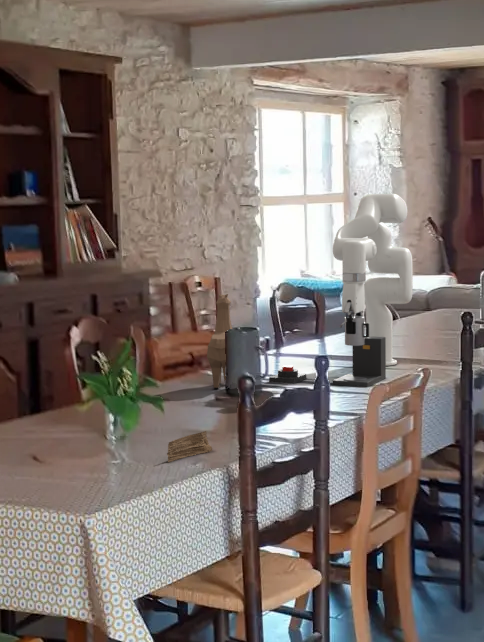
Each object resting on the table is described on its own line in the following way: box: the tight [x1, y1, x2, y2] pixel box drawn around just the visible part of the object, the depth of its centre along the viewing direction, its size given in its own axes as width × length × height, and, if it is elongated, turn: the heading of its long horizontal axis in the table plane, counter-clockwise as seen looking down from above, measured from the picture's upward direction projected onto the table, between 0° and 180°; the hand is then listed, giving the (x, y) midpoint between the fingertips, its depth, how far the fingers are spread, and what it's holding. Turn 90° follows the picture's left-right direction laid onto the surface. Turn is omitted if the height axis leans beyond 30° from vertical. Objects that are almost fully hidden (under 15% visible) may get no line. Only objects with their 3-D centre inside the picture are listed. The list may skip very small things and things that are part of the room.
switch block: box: [268, 368, 307, 385], centre depth 394 cm, size 11×9×4 cm
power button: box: [281, 365, 294, 371], centre depth 393 cm, size 4×4×2 cm
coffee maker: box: [332, 336, 387, 388], centre depth 389 cm, size 19×12×14 cm, turn 153°
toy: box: [206, 293, 233, 391], centre depth 382 cm, size 9×20×30 cm, turn 174°
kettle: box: [339, 315, 369, 347], centre depth 384 cm, size 6×10×9 cm, turn 63°
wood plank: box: [166, 430, 213, 463], centre depth 284 cm, size 15×2×5 cm, turn 141°
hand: (354, 331), depth 384 cm, fingers closed on kettle, 6 cm apart
